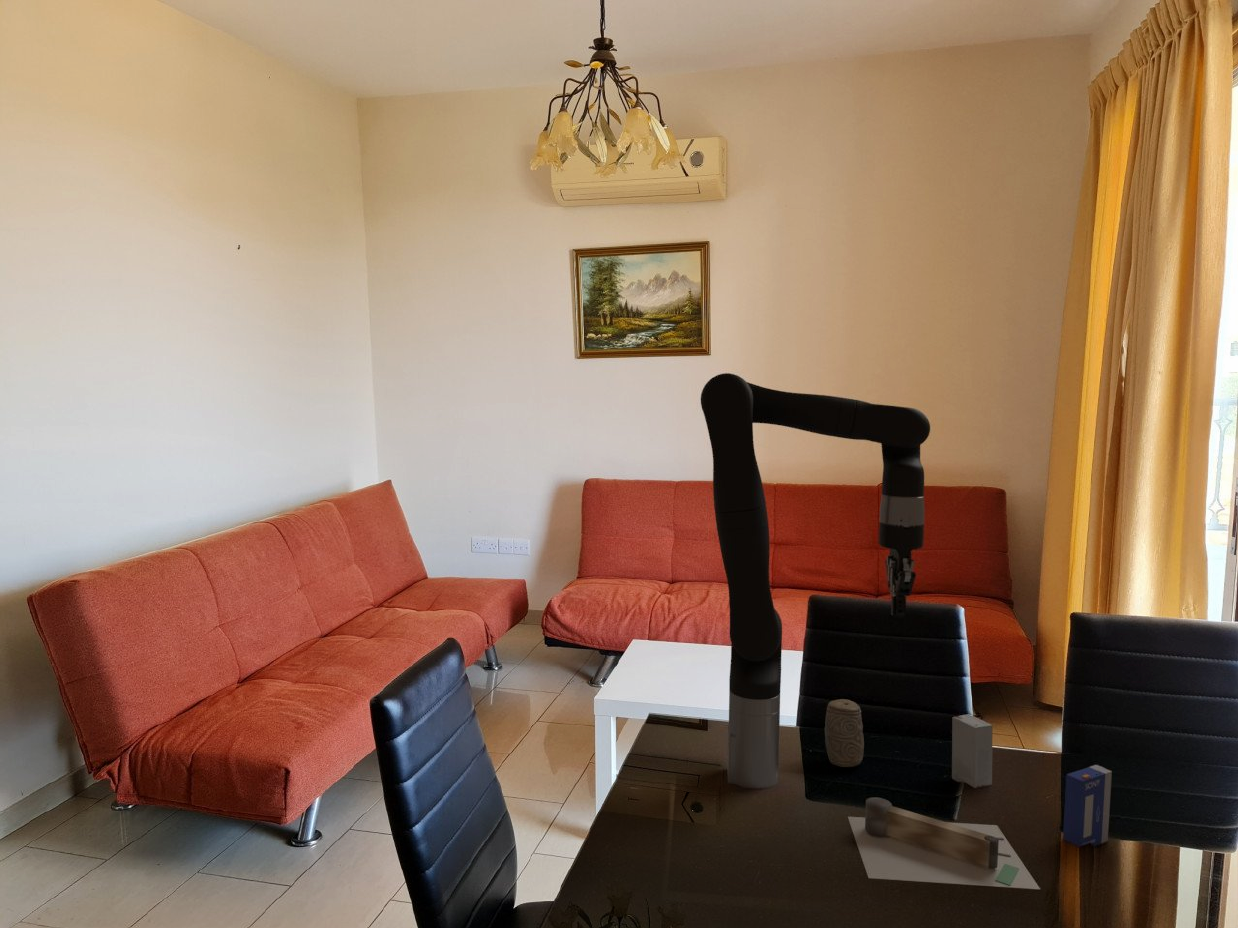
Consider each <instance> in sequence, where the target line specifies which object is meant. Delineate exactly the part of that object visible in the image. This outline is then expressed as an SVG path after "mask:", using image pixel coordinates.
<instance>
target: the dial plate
mask: <svg viewBox="0 0 1238 928" xmlns="http://www.w3.org/2000/svg"><path fill="white" fill-rule="evenodd" d="M847 818H848V822H849V825H850V828H851V830H852V833H853V836H854V840H855V843H856V846H857V848H858V852H859V854H860V857H861V860H862V863H863V866H864V869H865V872H866V875H867V877H868V879H873V880H890V881H891V880H892V881H904V882H918V883H919V882H920V883H935V884H937V883H938V884H947V885H949V884H951V885H967V886H982V887H996V888H997V887H999V888H1010V889H1011V888H1012V889H1025V890H1039V891H1040V890H1041V887H1040V886H1039V885H1038V883H1037V882H1036V881H1035V879H1034V878H1033V876H1032V875H1031V873H1030V872H1029V870H1028V869H1027V867H1026V866H1025V865H1024V862H1023V861H1022V860H1021V858H1020V857H1019V855H1018V854H1017V852H1016V851H1015V850H1014V848H1013V847H1012V845H1011V844H1010V842H1009V841H1008V840H1007V838H1006V836H1005V835H1004V834H1003V832H1002V831H1001V829H1000V828H999V826H998V825H996V824H980V823H965V822H948V821H947V823H950V824H953V825H957V826H960V827H964V828H967V829H970V830H974V831H977V832H980V833H984V834H987V835H990V836H993V837H996V838H997V839H998V840H999V844H998V865H997V868H995V869H992V868H988V867H984V866H981V865H978V864H975V863H972V862H969V861H966V860H963V859H960V858H956V857H953V856H950V855H947V854H944V853H941V852H938V851H935V850H932V849H928V848H925V847H922V846H919V845H916V844H913V843H910V842H907V841H904V840H900V839H897V838H894V837H891V836H885V837H879V836H874V835H871V834H869V833H868V832H867V831H866V830H865V817H864V816H863V817H862V816H861V817H859V816H847Z"/></svg>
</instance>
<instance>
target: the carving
mask: <svg viewBox="0 0 1238 928" xmlns="http://www.w3.org/2000/svg"><path fill="white" fill-rule="evenodd" d="M824 725H825V726H824V737H825V738H824V739H825V740H824V743H825V748H826V752H827V756H828V759H829V762H830V764H832V765H834V766H836V767H837V766H838V767H841V768H853V767H856V766H858V765H860V764H861V763H862V760H863V757H864V748H865V741H864V733H863V732H864V731H863V730H864V729H863V728H864V725H863V722H862V710H861V707H860V705H859V704H857V702H854V701H852V700H850V699H845V698H840V699H835V700H831V701H829V702H828V704H827V707H826V714H825V724H824Z"/></svg>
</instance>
